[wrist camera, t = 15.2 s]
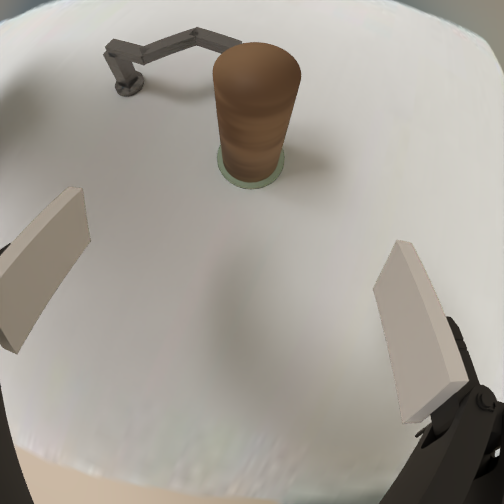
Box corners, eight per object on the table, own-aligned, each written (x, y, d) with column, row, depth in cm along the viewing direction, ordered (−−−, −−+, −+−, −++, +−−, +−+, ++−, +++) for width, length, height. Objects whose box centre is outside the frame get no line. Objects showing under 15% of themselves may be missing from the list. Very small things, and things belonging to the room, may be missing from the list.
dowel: (212, 148, 28) (197, 60, 16) (259, 124, 28) (270, 33, 16) (240, 192, 27) (240, 118, 15) (288, 166, 28) (318, 85, 16)
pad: (205, 169, 28) (204, 168, 27) (238, 120, 29) (238, 118, 28) (264, 200, 27) (264, 199, 27) (294, 148, 28) (295, 146, 28)
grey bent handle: (111, 102, 29) (87, 62, 21) (121, 75, 29) (101, 34, 22) (250, 105, 29) (253, 58, 22) (254, 76, 29) (258, 29, 22)
